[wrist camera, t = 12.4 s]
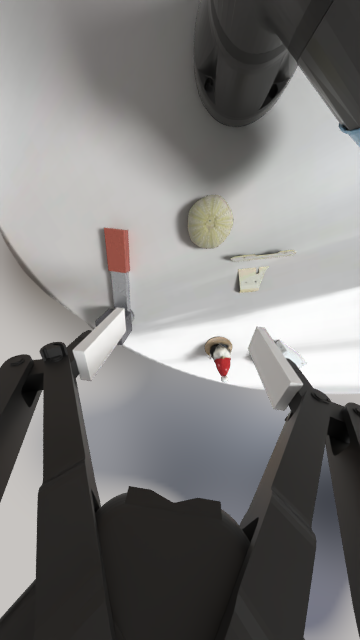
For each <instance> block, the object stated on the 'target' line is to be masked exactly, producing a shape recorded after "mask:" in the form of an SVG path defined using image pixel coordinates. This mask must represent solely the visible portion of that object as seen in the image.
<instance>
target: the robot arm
mask: <svg viewBox="0 0 360 640" xmlns="http://www.w3.org/2000/svg"><path fill="white" fill-rule="evenodd" d="M297 66H299V67H300V69H301V70H302V71H303V73H304V74H305V75H306V77H307V78H308V80H309V81H310V82H311V84H312V85H313V87H314V88H315V89H316V91H317V92H318V94H319V95H320V96H321V98H322V99H323V101H324V102H325V103H326V105H327V106H328V108H329V109H330V110H331V112H332V113H333V114H334V116H335V117H336V119H337V120H338V121H339V128H340V130H341V131H342V132H343V133H346V134H349V135H350V136H351V138H352V139H353V140H354V141H355V142H356V144H357V145H358V146H359V147H360V0H200V4H199V8H198V13H197V18H196V25H195V34H194V70H195V78H196V84H197V88H198V91H199V94H200V97H201V100H202V102H203V104H204V106H205V107H206V109H207V110H208V112H209V113H210V114H211V115H212V116H213V117H214V118H215V119H216V120H217V121H219V122H220V123H222V124H225V125H228V126H234V127H237V126H244V125H247V124H250V123H252V122H254V121H256V120H257V119H259V118H260V117H262V116H263V115H264V114H265V113H266V112H268V111H269V110H270V109H271V107H272V106H273V105H274V104H275V103H276V101H277V100H278V99H279V97H280V96H281V94H282V93H283V91H284V90H285V88H286V86H287V85H288V83H289V81H290V80H291V78H292V76H293V74H294V72H295V70H296V68H297ZM125 332H126V324H125V309H124V308H119V307H117V308H116V309H115V310H114V311H113V312H112V313H110V314H109V315H108V316H107V317H106V318H105V319H104V320H103V321H102V322H101V323H100V324H99V325H98V326H97V327H96V328H95V329H94V330H93V331H91V330H88V331H86V332H84V333H82V334H81V335H80V336H79V337H78V338H76V339H75V341H73V342H72V343H71V344H70V345H69V346H68V347H66V345H65V344H64V343H62V342H53V343H50V344H47V345H45V346H44V347H42V348H41V350H40V354H41V356H42V359H40V360H32V359H31V357H30V356H29V355H18V356H15V357H12V358H10V359H8V360H7V361H5V362H4V363H3V365H2V366H1V368H0V502H1V499H2V496H3V494H4V491H5V488H6V486H7V483H8V480H9V478H10V474H11V472H12V469H13V467H14V464H15V461H16V459H17V456H18V453H19V451H20V448H21V445H22V443H23V440H24V437H25V435H26V432H27V429H28V426H29V424H30V421H31V418H32V416H33V413H34V410H35V408H36V405H37V402H38V400H39V397H40V394H41V392H42V390H44V415H43V417H44V419H43V428H44V429H43V433H44V434H43V448H44V449H43V484H42V486H41V487H40V488H39V492H38V510H37V554H36V579H35V580H34V582H33V583H32V584H31V585H30V586H29V587H28V588H27V589H26V590H25V592H24V593H23V594H22V595H21V596H20V597H19V598H18V599H17V601H16V602H15V603H14V604H13V605H12V606H11V607H10V608H9V609H8V611H7V612H6V613H5V614H4V615H3V616H2V617H1V619H0V640H305V639H304V638H303V635H304V629H305V622H306V615H307V608H308V601H309V594H310V587H311V580H312V573H313V566H314V559H315V551H316V537H315V534H314V533H313V531H312V528H311V525H312V518H313V512H314V506H315V500H316V495H317V489H318V483H319V477H320V471H321V466H322V459H323V454H324V448H325V444H326V449H327V456H328V462H329V467H330V473H331V479H332V485H333V491H334V497H335V502H336V508H337V515H338V520H339V526H340V532H341V538H342V544H343V550H344V555H345V562H346V567H347V573H348V579H349V585H350V591H351V597H352V603H353V608H354V613H355V618H356V623H357V628H358V632H359V637H360V405H357V404H355V403H347V404H346V405H345V406H341V405H338V404H336V403H333V402H331V401H330V399H329V398H328V397H327V396H326V395H325V394H324V393H322V392H321V391H319V390H317V389H314V388H313V387H312V386H311V384H310V383H309V382H308V380H307V379H306V378H305V376H304V375H303V374H302V372H301V371H300V370H299V368H298V367H297V365H296V364H295V363H294V362H293V361H292V360H290V359H288V358H285V357H284V355H283V354H282V352H281V351H280V349H279V348H278V347H277V345H276V344H275V342H274V341H273V339H272V338H271V336H270V335H269V334H268V332H267V331H266V329H265V328H262V327H256V330H255V332H254V335H253V337H252V340H251V342H250V345H249V347H248V350H249V353H250V355H251V357H252V360H253V362H254V364H255V367H256V369H257V371H258V374H259V376H260V378H261V381H262V383H263V385H264V388H265V390H266V392H267V395H268V397H269V399H270V402H271V404H272V407H273V409H277V410H283V411H284V410H285V409H286V408H287V407H288V405H289V407H290V409H291V412H290V413H289V414H288V416H287V417H286V419H285V421H286V422H285V424H284V427H283V429H282V432H281V434H280V436H279V439H278V441H277V443H276V446H275V448H274V451H273V453H272V455H271V458H270V460H269V462H268V465H267V467H266V469H265V472H264V474H263V477H262V479H261V481H260V484H259V486H258V488H257V491H256V493H255V495H254V498H253V500H252V503H251V505H250V507H249V509H248V511H247V513H246V514H245V516H244V518H243V519H242V521H241V523H240V526H239V525H238V524H237V522H236V521H235V520H234V519H233V518H232V517H231V516H230V515H229V514H227V513H226V512H225V511H223V510H222V509H221V504H220V502H219V501H213V500H207V499H201V498H195V499H190V500H186V501H181V502H177V503H173V502H171V501H169V500H167V499H166V498H164V497H162V496H161V495H159V494H157V493H155V492H154V491H152V490H149V489H143V488H137V487H131V486H129V489H128V492H127V493H123V494H121V495H118V496H116V497H114V498H112V499H111V500H109V501H108V502H106V503H105V504H104V505H103V506H102V507H101V505H100V500H99V496H98V491H97V487H96V483H95V478H94V472H93V467H92V462H91V456H90V451H89V446H88V440H87V435H86V430H85V425H84V419H83V414H82V409H81V403H80V398H79V393H78V387H77V382H76V377H77V376H78V375H80V378H81V380H87V381H92V379H93V378H94V376H95V375H96V373H97V372H98V370H99V369H100V368H101V366H102V365H103V363H104V362H105V360H106V359H107V358H108V356H109V355H110V353H111V352H112V351H113V349H114V348H115V346H116V345H117V343H118V342H119V341H120V339H121V338H122V336H123V335H124V333H125Z"/></svg>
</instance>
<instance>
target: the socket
mask: <svg viewBox="0 0 360 640" xmlns="http://www.w3.org/2000/svg"><path fill="white" fill-rule="evenodd" d="M114 310H115V309H108V310H107V311H106V312H105V313H104V314H103V315H102V316H101V317H99V318H98V319H97V320H96V321H95V323H96V327H97V326H98V325H99V324H100V323H101V322H102V321H103V320H104V319H105V318H106V317H107V316H108V315H109V314H110V313H112V312H113V311H114ZM125 324H126V332H125V333H124V335H123V336H122V338H121V339H120V341H119V342H118V343H117V345H123V343H124V342H125V340H126V339H127V337H128V335H129V334H130V332H131V331H132V321H131V312H130V311H125Z"/></svg>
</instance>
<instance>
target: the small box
mask: <svg viewBox="0 0 360 640" xmlns="http://www.w3.org/2000/svg"><path fill="white" fill-rule="evenodd" d="M275 344H276V345H277V347H278V348H279V349H280V351H281V352H282V354H283V355H284V357H285V358H288V359H290V360H292V361H293V362H294V363H295V364H296V365H297V367H298V368H301V367H302V366H304V365H305V364H307V362H306V361H305V360H304V359H303V358H302V356H301V355H300V354H299V353H298V352H297V351H296V350H294V349H293V348H291V347H290V346H288V345H287V344H285V343H284V342H282V341H281V340H278V341H277V342H276V343H275Z"/></svg>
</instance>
